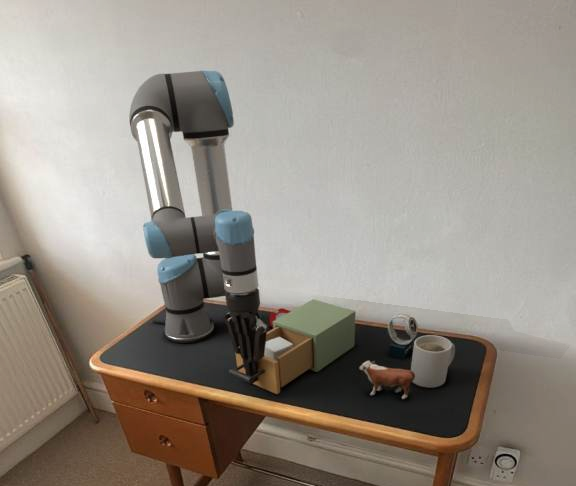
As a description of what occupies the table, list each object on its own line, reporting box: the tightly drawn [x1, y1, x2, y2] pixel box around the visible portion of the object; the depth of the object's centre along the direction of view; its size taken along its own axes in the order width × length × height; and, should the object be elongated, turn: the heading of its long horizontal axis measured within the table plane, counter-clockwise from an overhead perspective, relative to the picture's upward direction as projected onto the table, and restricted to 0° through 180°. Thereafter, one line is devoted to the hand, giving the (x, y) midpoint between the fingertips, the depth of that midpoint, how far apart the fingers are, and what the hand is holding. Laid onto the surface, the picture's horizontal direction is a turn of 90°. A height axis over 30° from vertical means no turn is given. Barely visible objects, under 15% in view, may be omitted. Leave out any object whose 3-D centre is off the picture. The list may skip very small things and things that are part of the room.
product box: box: [264, 337, 293, 361], centre depth 120 cm, size 6×6×7 cm
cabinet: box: [272, 298, 357, 373], centre depth 130 cm, size 18×15×11 cm
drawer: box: [228, 326, 314, 395], centre depth 119 cm, size 22×14×9 cm, turn 139°
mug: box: [410, 334, 456, 388], centre depth 116 cm, size 11×10×10 cm
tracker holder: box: [269, 307, 292, 329], centre depth 148 cm, size 12×4×10 cm
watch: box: [387, 313, 419, 360], centre depth 126 cm, size 6×8×11 cm
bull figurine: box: [359, 360, 415, 400], centre depth 112 cm, size 4×13×8 cm, turn 69°
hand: (252, 381), depth 116 cm, fingers closed
